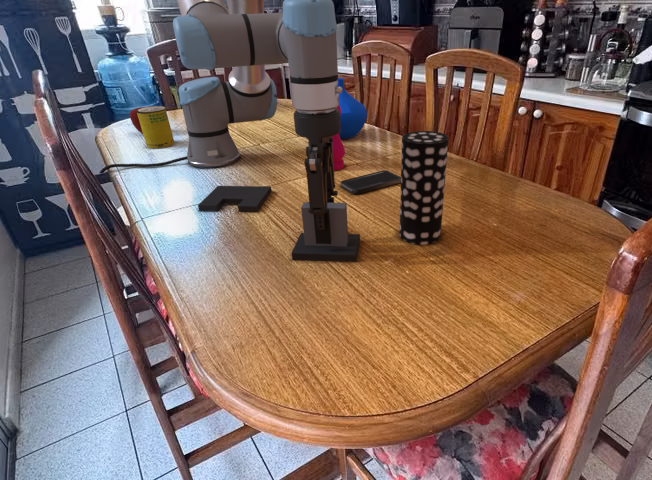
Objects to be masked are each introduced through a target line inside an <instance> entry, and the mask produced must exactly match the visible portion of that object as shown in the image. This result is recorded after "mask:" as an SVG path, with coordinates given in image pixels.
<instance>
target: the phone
mask: <svg viewBox="0 0 652 480" xmlns="http://www.w3.org/2000/svg"><path fill="white" fill-rule="evenodd" d="M339 184H340V185H339V186H340V188H342V189H344V190H346V191H347V192H349V193H350V194H352V195H360V194H364V193H368V192H371V191H375V190H378V189H382V188H385V187H386V188H387V187H389V186H394V185H397V184H401V175H397V174H395V173H394V172H392V171H389V170H385V169H384V170H380V171H374V172H371V173H368V174H364V175H359V176H355V177H351V178H348V179H343V180H341V181H340V183H339Z"/></svg>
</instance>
